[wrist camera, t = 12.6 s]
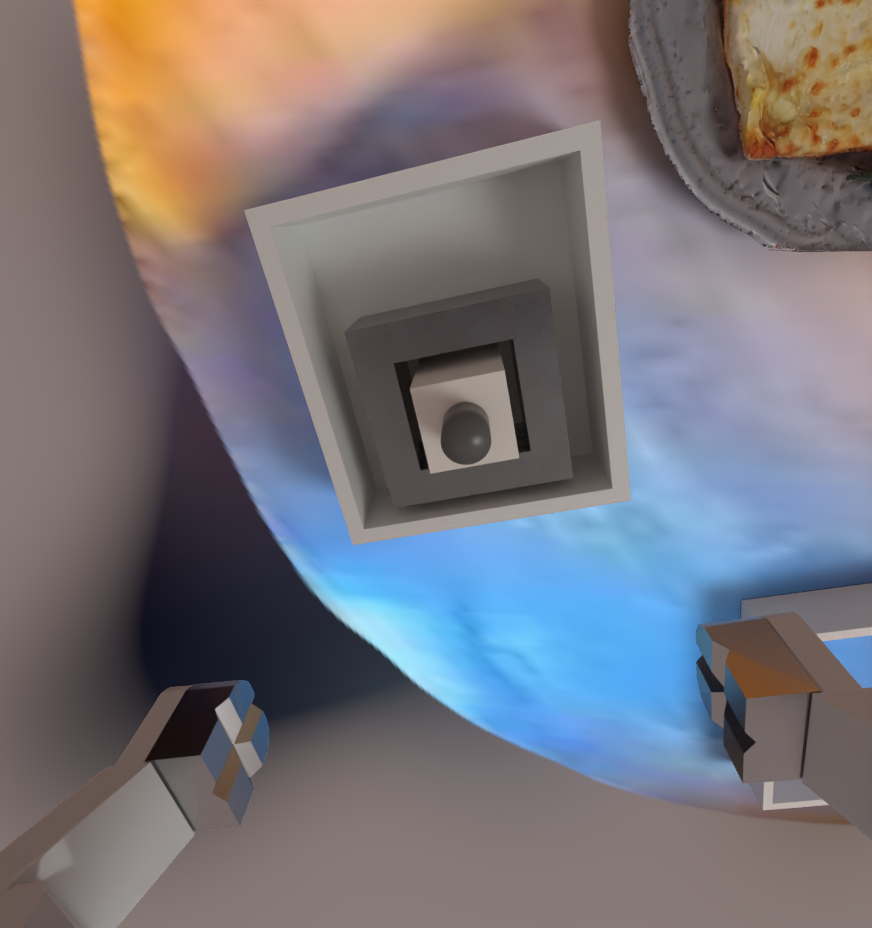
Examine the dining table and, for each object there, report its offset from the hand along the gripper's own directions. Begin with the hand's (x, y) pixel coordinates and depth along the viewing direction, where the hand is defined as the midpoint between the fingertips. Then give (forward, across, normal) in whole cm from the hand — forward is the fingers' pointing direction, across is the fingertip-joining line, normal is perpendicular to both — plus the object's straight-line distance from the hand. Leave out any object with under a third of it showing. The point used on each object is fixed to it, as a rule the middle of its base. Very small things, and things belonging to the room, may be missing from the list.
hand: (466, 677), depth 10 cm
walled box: (+21, 0, -2) cm, 21 cm away
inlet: (+21, 0, 0) cm, 21 cm away
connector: (+20, 0, +1) cm, 21 cm away
